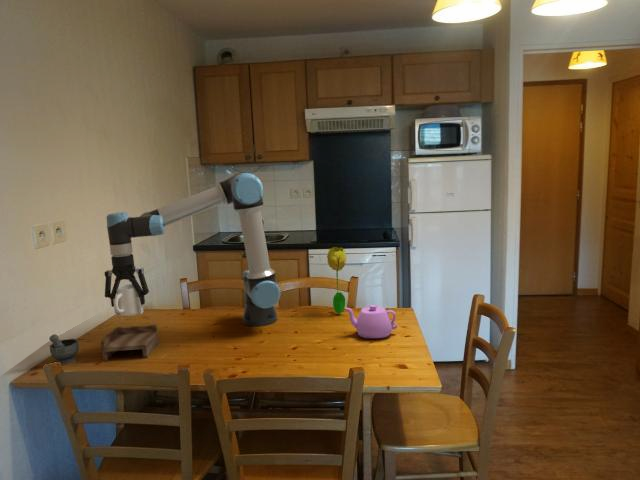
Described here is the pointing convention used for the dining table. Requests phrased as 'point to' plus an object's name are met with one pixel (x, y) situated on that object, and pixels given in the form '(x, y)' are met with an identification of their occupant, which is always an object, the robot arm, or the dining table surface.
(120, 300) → the mug
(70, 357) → the mortar and pestle
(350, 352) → the dining table surface
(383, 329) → the teapot
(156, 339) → the shelf
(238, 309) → the dining table surface
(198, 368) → the dining table surface
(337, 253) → the flower
